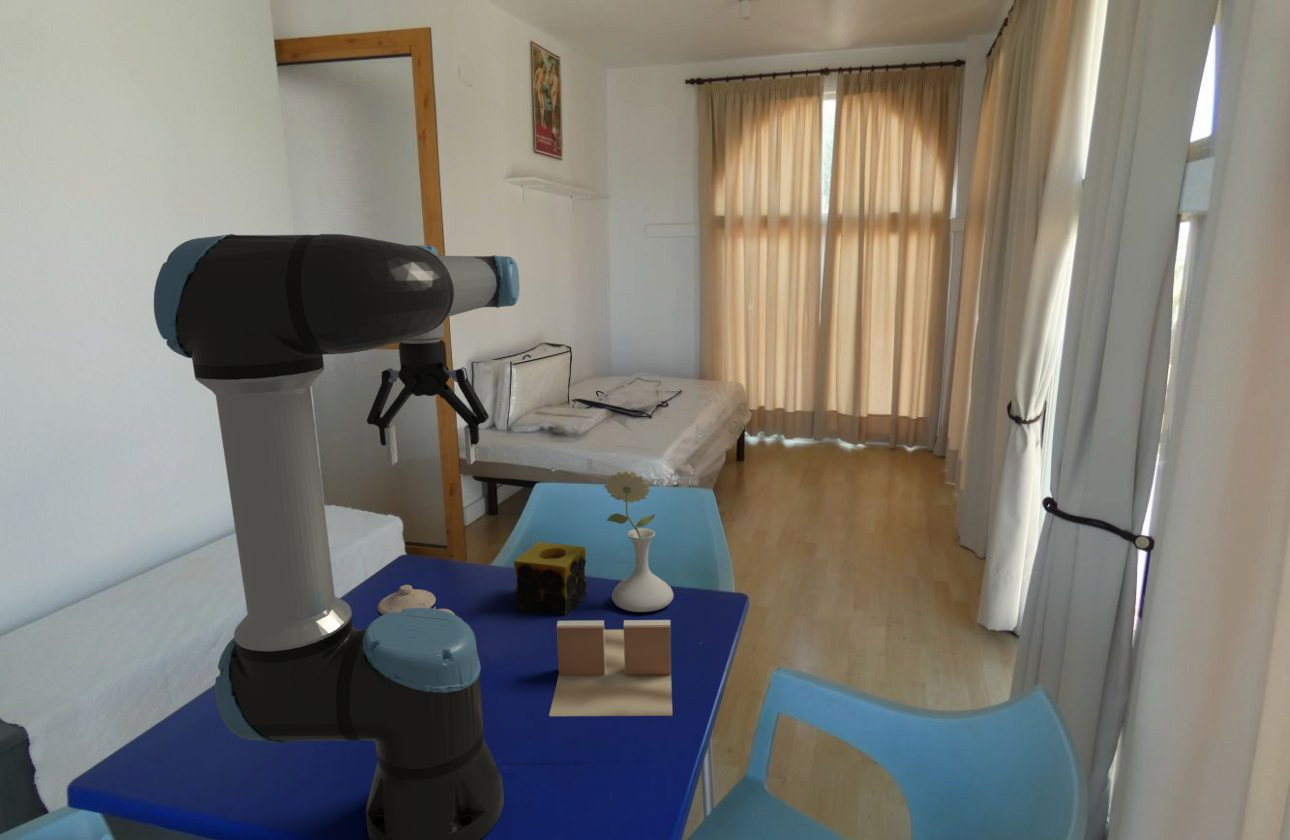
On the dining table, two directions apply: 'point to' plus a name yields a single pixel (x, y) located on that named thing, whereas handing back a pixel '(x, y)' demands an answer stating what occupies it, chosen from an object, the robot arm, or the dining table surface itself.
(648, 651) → the tile
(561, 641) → the tile
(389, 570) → the dining table surface
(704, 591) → the dining table surface
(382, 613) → the teacup with lid
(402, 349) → the robot arm
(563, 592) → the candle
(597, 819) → the dining table surface
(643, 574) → the flower in vase
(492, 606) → the dining table surface
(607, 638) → the board
